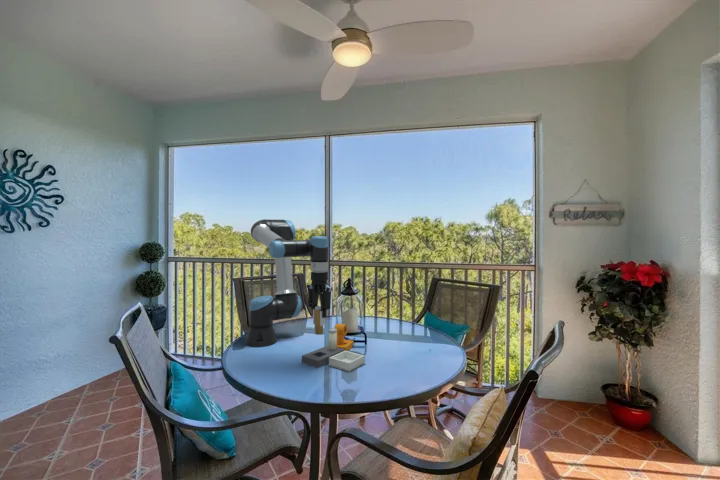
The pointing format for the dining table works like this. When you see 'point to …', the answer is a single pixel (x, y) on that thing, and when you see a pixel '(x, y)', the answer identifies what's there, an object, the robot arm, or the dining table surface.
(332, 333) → the fuse block
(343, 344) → the bracket
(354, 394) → the dining table surface
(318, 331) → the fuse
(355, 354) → the parts tray
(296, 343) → the dining table surface
